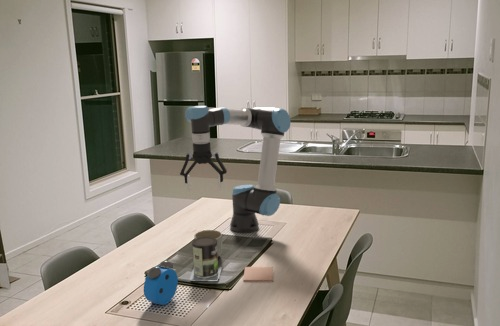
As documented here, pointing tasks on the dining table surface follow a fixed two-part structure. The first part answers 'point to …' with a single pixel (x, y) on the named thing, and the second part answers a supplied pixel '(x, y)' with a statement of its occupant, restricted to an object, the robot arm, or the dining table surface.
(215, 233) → the planter
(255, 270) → the pad
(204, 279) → the pad
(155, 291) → the alarm clock
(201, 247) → the coffee can
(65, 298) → the dining table surface
